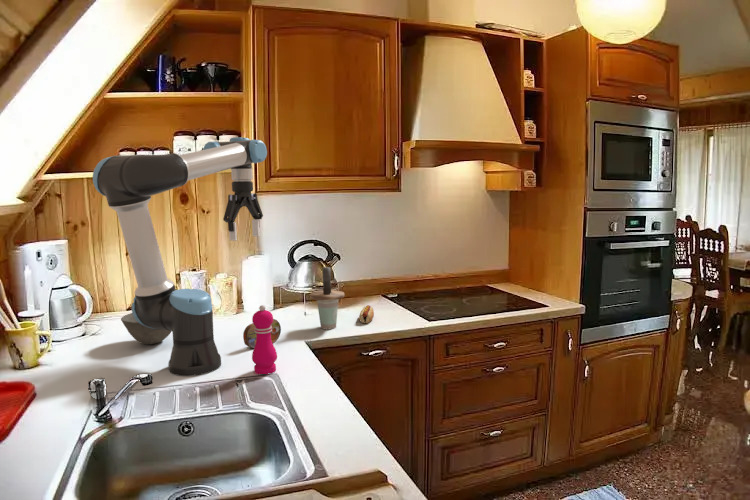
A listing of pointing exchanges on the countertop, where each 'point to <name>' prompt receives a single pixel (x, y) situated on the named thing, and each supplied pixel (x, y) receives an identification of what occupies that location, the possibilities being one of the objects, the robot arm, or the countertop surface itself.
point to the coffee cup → (328, 313)
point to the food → (366, 314)
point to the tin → (251, 336)
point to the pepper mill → (263, 342)
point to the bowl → (143, 331)
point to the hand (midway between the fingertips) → (245, 238)
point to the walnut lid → (327, 288)
